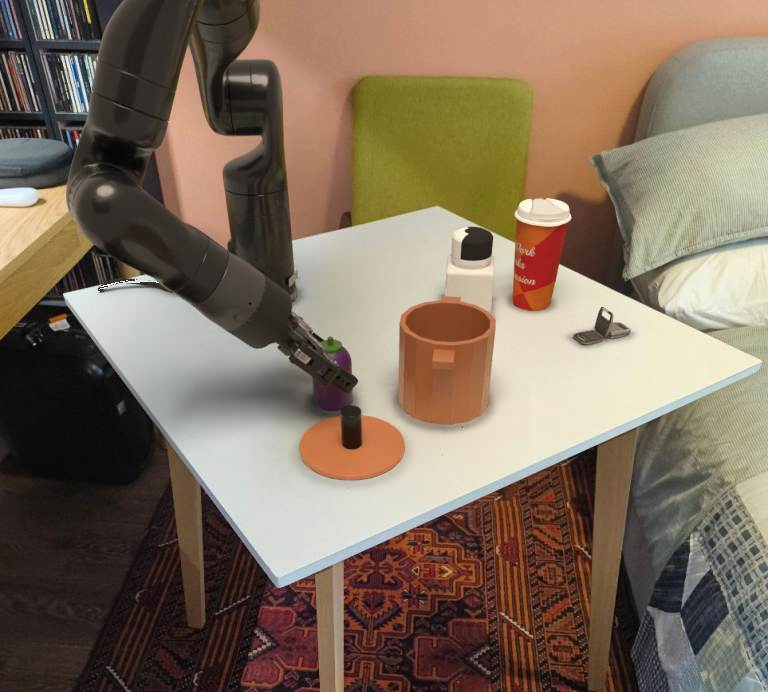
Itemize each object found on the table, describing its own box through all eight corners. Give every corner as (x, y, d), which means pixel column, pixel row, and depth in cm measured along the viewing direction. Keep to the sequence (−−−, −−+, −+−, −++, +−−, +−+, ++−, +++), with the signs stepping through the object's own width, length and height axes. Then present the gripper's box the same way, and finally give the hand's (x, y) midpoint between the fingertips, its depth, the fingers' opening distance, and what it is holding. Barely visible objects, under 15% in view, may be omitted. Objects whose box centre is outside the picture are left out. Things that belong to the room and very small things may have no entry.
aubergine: (310, 413, 98) (305, 346, 91) (318, 392, 101) (313, 326, 95) (349, 416, 97) (347, 348, 91) (355, 395, 101) (353, 329, 95)
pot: (391, 437, 94) (392, 352, 86) (405, 367, 106) (407, 288, 99) (485, 443, 93) (494, 359, 85) (488, 372, 105) (496, 293, 98)
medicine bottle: (490, 298, 123) (497, 223, 115) (490, 319, 117) (498, 241, 110) (445, 296, 123) (449, 221, 116) (443, 316, 118) (447, 239, 110)
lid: (289, 480, 87) (285, 438, 83) (311, 419, 97) (308, 379, 93) (398, 488, 86) (399, 446, 82) (409, 426, 95) (410, 385, 92)
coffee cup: (500, 292, 125) (510, 197, 115) (550, 290, 125) (564, 195, 115) (511, 315, 118) (522, 217, 108) (564, 313, 119) (580, 215, 109)
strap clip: (619, 326, 116) (624, 300, 113) (631, 335, 113) (637, 308, 111) (571, 337, 113) (576, 310, 110) (583, 346, 111) (588, 319, 108)
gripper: (279, 298, 80) (382, 373, 90) (244, 249, 90) (340, 322, 100) (236, 354, 81) (341, 421, 92) (206, 300, 91) (304, 366, 102)
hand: (340, 369), depth 96 cm, fingers open, 8 cm apart
